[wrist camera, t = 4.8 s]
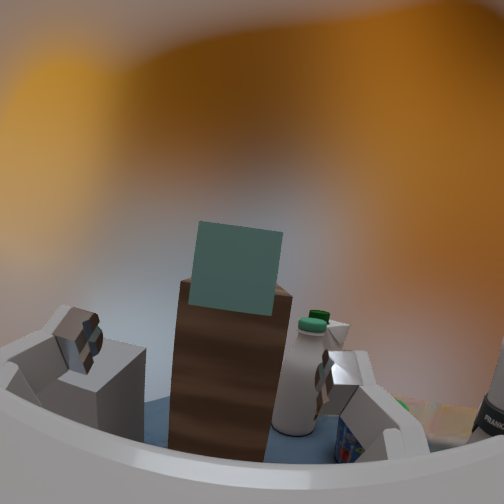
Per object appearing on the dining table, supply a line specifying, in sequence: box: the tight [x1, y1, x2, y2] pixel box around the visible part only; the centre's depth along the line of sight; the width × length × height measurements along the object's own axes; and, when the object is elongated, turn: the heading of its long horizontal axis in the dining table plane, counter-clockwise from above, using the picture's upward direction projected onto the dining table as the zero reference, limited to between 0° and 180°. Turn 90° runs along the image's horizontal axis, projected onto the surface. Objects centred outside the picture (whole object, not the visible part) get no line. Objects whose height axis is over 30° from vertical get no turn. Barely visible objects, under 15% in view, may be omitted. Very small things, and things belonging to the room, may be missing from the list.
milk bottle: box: [272, 318, 327, 436], centre depth 48 cm, size 8×8×20 cm
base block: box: [36, 338, 146, 443], centre depth 27 cm, size 14×10×16 cm
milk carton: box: [298, 310, 350, 351], centre depth 59 cm, size 9×9×20 cm
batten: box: [188, 221, 283, 316], centre depth 24 cm, size 22×4×4 cm, turn 1°
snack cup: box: [335, 398, 409, 464], centre depth 37 cm, size 16×10×10 cm
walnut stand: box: [168, 278, 293, 463], centre depth 29 cm, size 16×8×26 cm, turn 1°
